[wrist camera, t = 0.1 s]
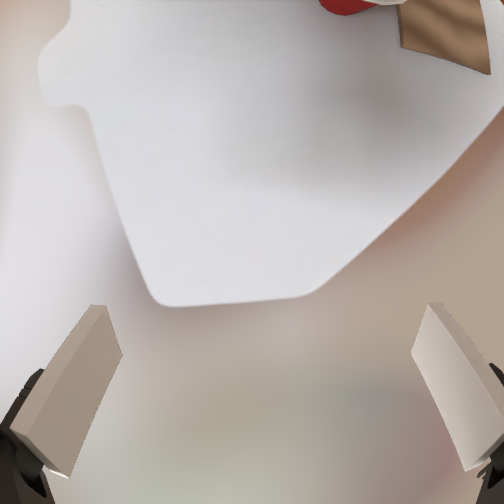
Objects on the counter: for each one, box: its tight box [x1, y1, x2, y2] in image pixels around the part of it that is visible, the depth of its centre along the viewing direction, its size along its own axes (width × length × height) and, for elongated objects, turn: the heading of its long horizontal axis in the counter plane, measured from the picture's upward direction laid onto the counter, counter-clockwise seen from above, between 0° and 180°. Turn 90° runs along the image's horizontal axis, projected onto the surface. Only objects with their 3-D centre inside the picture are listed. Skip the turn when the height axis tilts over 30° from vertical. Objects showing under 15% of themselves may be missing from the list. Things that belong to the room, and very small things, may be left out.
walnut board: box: [396, 0, 491, 75], centre depth 25 cm, size 16×16×1 cm
